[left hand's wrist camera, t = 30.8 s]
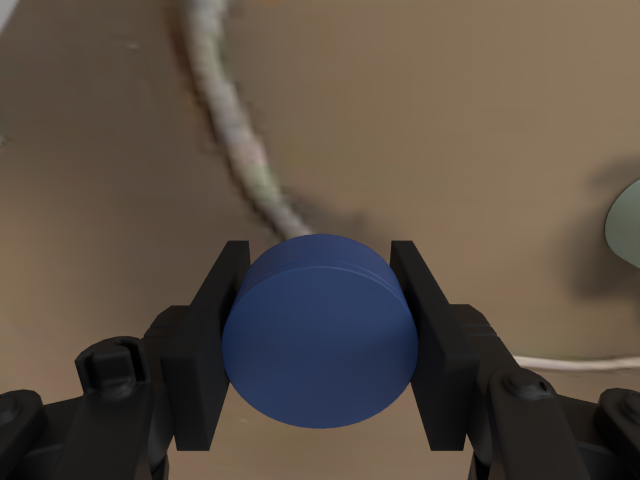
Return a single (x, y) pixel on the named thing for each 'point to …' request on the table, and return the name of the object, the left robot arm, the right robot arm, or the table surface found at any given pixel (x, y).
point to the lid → (320, 333)
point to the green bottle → (625, 225)
